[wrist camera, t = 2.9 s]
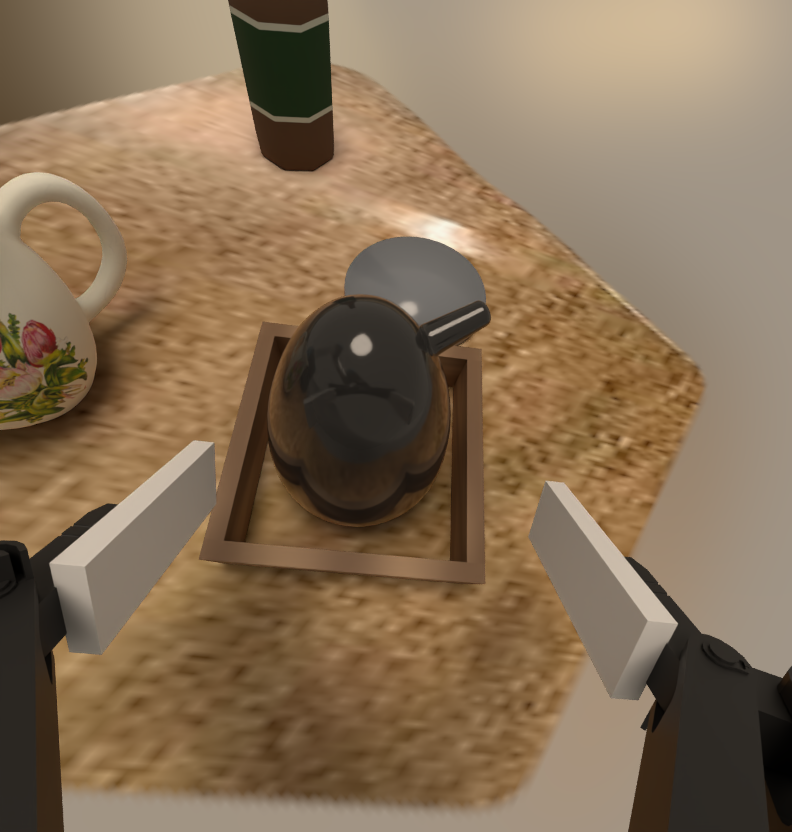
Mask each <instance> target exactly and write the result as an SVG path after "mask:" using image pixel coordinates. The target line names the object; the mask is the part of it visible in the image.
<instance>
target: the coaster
mask: <svg viewBox="0 0 792 832" xmlns="http://www.w3.org/2000/svg"><path fill="white" fill-rule="evenodd" d="M355 294H368V295H375V296H379V297H383V298H385V299H388V300H390V301H392V302H394V303H395V304H397V305H398V306H400V307H401V308H403V309H404V310H405V311H406V312H407V313H409V314H410V315H411V316H412V317H413V318H414V320H415V321H416V322H417V323H418V324H423V323H426V322H428V321H431V320H433V319H435V318H438V317H440V316H442V315H445V314H447V313H449V312H452V311H454V310H456V309H459V308H461V307H463V306H466V305H468V304H470V303H473V302H475V301H478V300H480V301H482V302H484V303H485V304H486V294H485V288H484V285H483V282H482V280H481V277H480V276H479V274H478V272H477V271H476V269H475V268H474V267H473V265H472V264H471V263H470V262H469V261H468V260H467V259H466V258H465V257H463V256H462V255H461V254H460V253H458V252H457V251H455V250H454V249H452V248H450V247H448V246H446V245H444V244H442V243H439V242H436V241H433V240H430V239H425V238H419V237H396V238H390V239H386V240H383V241H380V242H377V243H375V244H373V245H371V246H369V247H368V248H366V249H365V250H363V251H362V252H361V253H360V254H359V255H358V256H357V257H356V258H355V259H354V260H353V262H352V263H351V265H350V267H349V269H348V271H347V274H346V278H345V296H348V295H355ZM469 337H470V336H469ZM469 337H467V338H466V339H464V340H463V341H461V342H459V343H458V344H456V345H454V346H458V345H460V344H461V343H463V342H464V341H465V340H467V339H468V338H469Z"/></svg>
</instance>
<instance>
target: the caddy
mask: <svg viewBox="0 0 792 832" xmlns="http://www.w3.org/2000/svg"><path fill="white" fill-rule="evenodd" d="M298 327H299V326H293V325H285V324H277V323H269V322H262V326H261V329H260V333H259V337H258V340H257V344H256V348H255V352H254V355H253V359H252V363H251V367H250V370H249V374H248V378H247V381H246V385H245V389H244V393H243V396H242V400H241V404H240V408H239V411H238V415H237V419H236V422H235V426H234V430H233V434H232V437H231V441H230V445H229V449H228V452H227V456H226V460H225V463H224V467H223V471H222V475H221V478H220V482H219V486H218V490H217V493H216V505H215V506H214V507H213V509H212V512H211V516H210V519H209V523H208V527H207V531H206V534H205V538H204V542H203V545H202V549H201V553H200V557H199V559H200V560H206V561H212V562H219V563H226V564H238V565H250V566H261V567H273V568H285V569H297V570H308V571H320V572H332V573H343V574H355V575H367V576H378V577H390V578H402V579H414V580H425V581H437V582H449V583H460V584H485V537H484V477H483V417H482V357H481V349H477V348H469V347H461V346H453V347H451V348H449V349H448V350H446V351H444V352H443V353H441V354H440V355H439V356H438V357H439V359H440V361H441V364H442V366H443V369H444V373H445V376H446V380H447V384H448V386H450V387H453V432H452V488H451V544H450V561H446V560H435V559H424V558H413V557H401V556H390V555H379V554H368V553H356V552H345V551H334V550H323V549H311V548H300V547H289V546H278V545H267V544H255V543H245V539H246V534H247V530H248V526H249V521H250V517H251V512H252V508H253V503H254V499H255V495H256V490H257V486H258V481H259V477H260V473H261V468H262V464H263V459H264V455H265V450H266V446H267V442H268V433H267V408H268V400H269V394H270V389H271V385H272V381H273V378H274V375H275V371H276V369H277V366H278V363H279V361H280V358H281V356H282V354H283V352H284V349H285V347H286V345H287V344H288V342H289V340H290V338H291V337H292V335H293V334H294V332H295V331H296V330H297V328H298Z"/></svg>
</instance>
